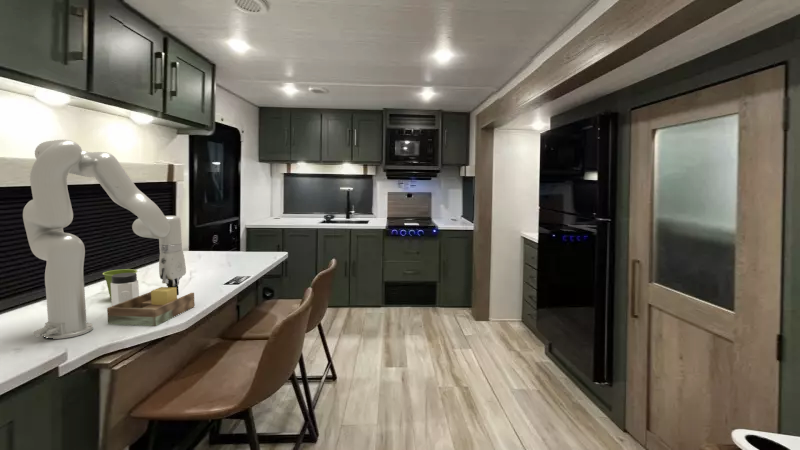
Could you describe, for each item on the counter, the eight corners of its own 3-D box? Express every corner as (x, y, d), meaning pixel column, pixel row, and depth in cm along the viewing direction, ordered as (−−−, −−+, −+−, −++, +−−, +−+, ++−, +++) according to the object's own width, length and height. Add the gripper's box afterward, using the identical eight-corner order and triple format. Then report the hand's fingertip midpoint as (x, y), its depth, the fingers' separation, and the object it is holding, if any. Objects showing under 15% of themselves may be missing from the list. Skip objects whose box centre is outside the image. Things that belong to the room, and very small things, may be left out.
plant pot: (122, 304, 168) (121, 275, 167) (96, 302, 170) (94, 274, 169) (145, 296, 179) (144, 269, 178) (120, 294, 181) (119, 268, 180)
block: (167, 304, 156) (166, 291, 156) (151, 304, 157) (150, 290, 156) (177, 300, 162) (176, 287, 162) (162, 299, 163) (161, 286, 162)
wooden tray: (155, 326, 142) (155, 309, 142) (108, 324, 144) (107, 308, 143) (194, 306, 165) (194, 292, 164) (152, 305, 166) (152, 291, 166)
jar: (111, 309, 160) (110, 278, 159) (111, 304, 167) (110, 274, 165) (139, 306, 165) (138, 275, 164) (138, 301, 172) (137, 271, 170)
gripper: (167, 251, 155) (170, 301, 157) (191, 245, 170) (193, 290, 172) (148, 251, 156) (151, 300, 158) (173, 245, 171) (176, 290, 173)
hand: (173, 295), depth 165 cm, fingers closed
